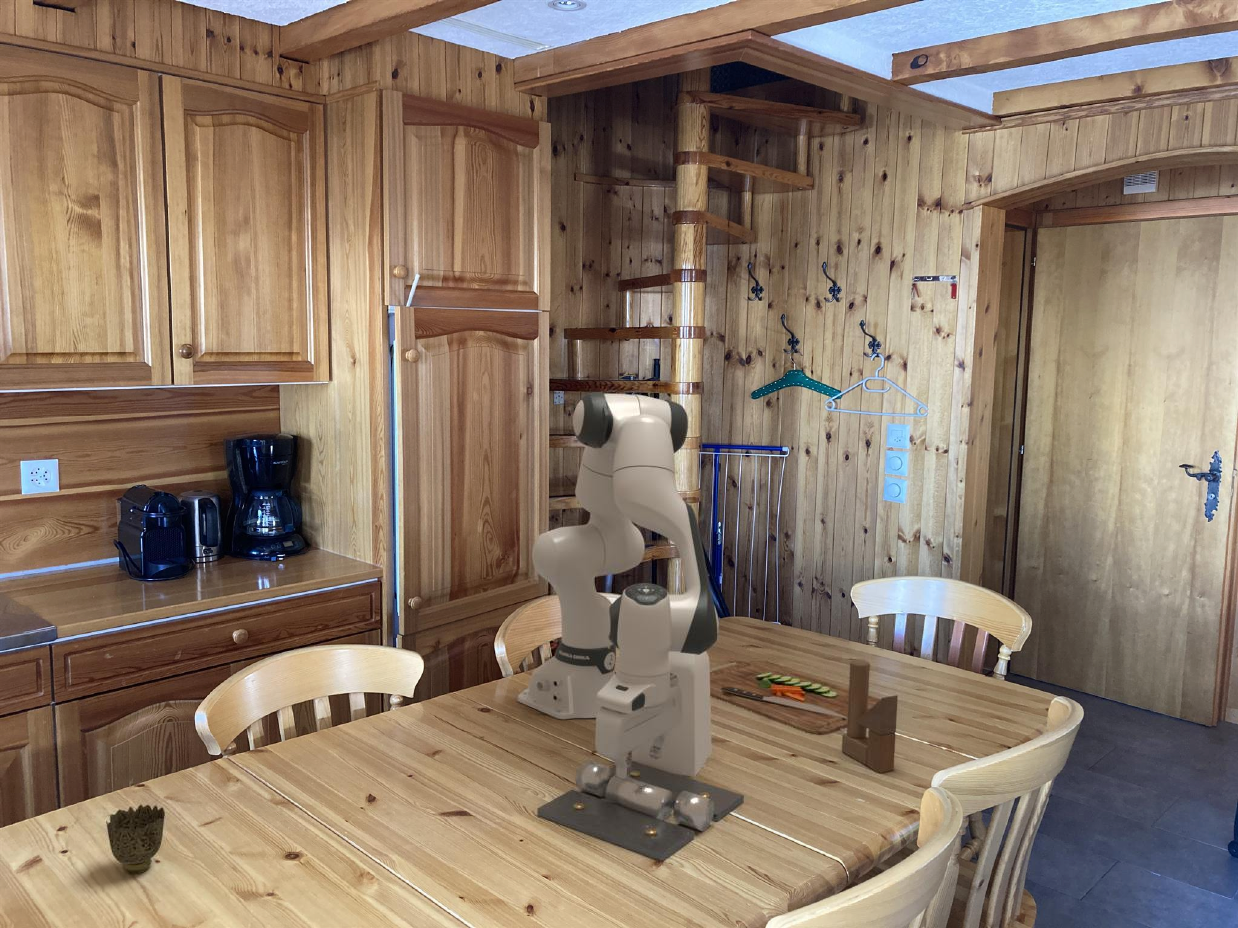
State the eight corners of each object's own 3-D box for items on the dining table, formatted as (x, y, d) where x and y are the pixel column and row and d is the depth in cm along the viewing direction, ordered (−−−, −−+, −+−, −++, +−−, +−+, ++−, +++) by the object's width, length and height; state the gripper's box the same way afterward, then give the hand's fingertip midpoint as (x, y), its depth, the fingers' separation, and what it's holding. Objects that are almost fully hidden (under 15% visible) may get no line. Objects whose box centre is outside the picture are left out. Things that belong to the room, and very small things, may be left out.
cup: (121, 856, 144) (119, 803, 143) (173, 855, 145) (172, 802, 144) (99, 883, 137) (97, 828, 136) (154, 882, 138) (152, 827, 137)
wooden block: (878, 773, 179) (883, 677, 177) (840, 752, 188) (845, 659, 186) (894, 770, 180) (899, 674, 178) (856, 749, 190) (860, 657, 188)
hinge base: (537, 815, 160) (537, 785, 159) (626, 765, 180) (627, 738, 180) (662, 861, 146) (663, 829, 145) (743, 801, 166) (744, 773, 166)
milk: (631, 766, 180) (634, 626, 177) (650, 743, 191) (654, 611, 188) (694, 776, 176) (699, 633, 173) (711, 753, 187) (715, 618, 184)
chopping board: (907, 714, 211) (908, 700, 211) (829, 744, 194) (830, 728, 193) (749, 661, 245) (750, 649, 245) (670, 683, 228) (671, 670, 227)
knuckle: (610, 810, 164) (602, 791, 162) (626, 787, 168) (617, 767, 165) (661, 828, 159) (653, 808, 156) (676, 803, 162) (668, 783, 159)
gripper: (662, 665, 171) (659, 742, 173) (589, 697, 155) (587, 781, 156) (693, 673, 167) (690, 751, 169) (622, 707, 151) (619, 793, 153)
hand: (639, 766), depth 163 cm, fingers open, 8 cm apart
